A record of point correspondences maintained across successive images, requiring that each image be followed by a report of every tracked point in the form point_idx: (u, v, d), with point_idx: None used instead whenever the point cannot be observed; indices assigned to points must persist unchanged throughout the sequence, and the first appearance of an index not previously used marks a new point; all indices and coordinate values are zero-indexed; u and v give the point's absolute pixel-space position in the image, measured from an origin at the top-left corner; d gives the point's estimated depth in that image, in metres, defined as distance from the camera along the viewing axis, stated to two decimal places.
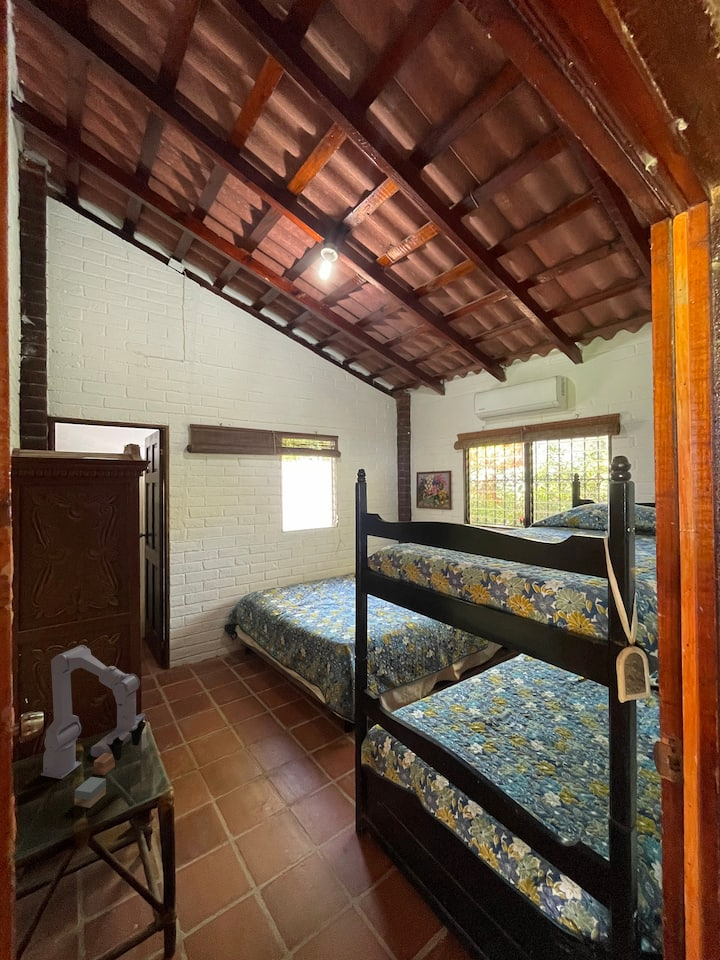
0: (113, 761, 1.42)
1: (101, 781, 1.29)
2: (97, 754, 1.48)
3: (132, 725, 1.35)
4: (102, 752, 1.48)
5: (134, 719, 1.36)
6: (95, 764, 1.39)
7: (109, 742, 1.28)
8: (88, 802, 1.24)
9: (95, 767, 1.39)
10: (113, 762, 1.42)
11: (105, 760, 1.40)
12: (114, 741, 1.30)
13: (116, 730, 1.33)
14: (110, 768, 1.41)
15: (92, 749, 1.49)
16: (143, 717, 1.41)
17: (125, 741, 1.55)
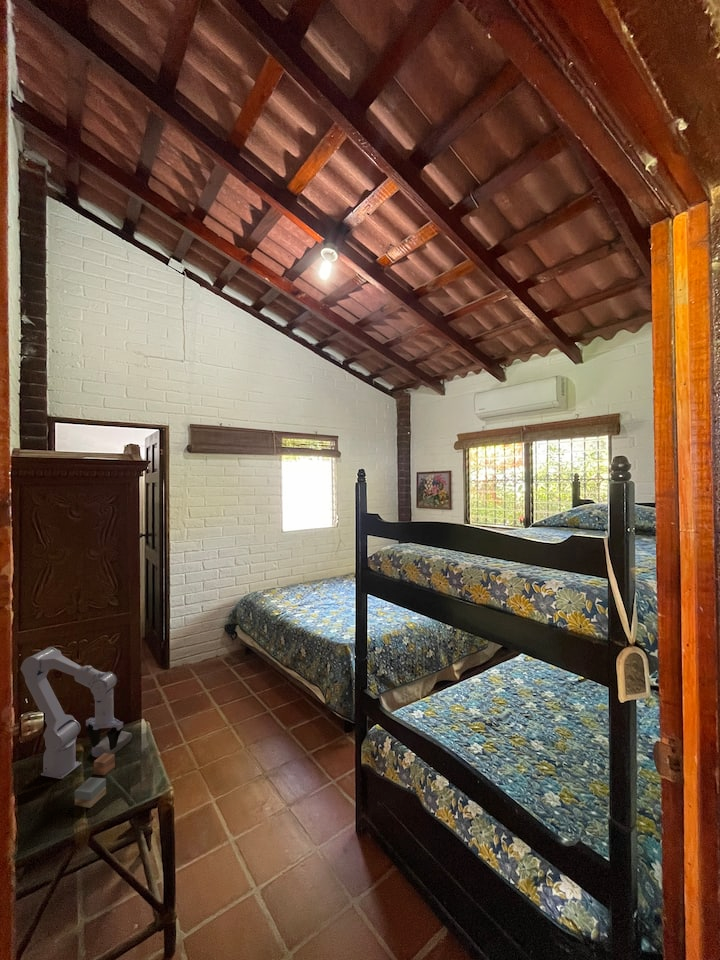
0: (113, 761, 1.42)
1: (101, 781, 1.29)
2: (98, 754, 1.48)
3: (96, 724, 1.39)
4: (103, 752, 1.47)
5: (99, 720, 1.38)
6: (95, 764, 1.39)
7: None
8: (89, 803, 1.24)
9: (95, 767, 1.39)
10: (113, 762, 1.42)
11: (105, 760, 1.40)
12: (89, 726, 1.42)
13: None
14: (110, 768, 1.41)
15: (93, 749, 1.49)
16: (116, 726, 1.39)
17: (126, 741, 1.55)
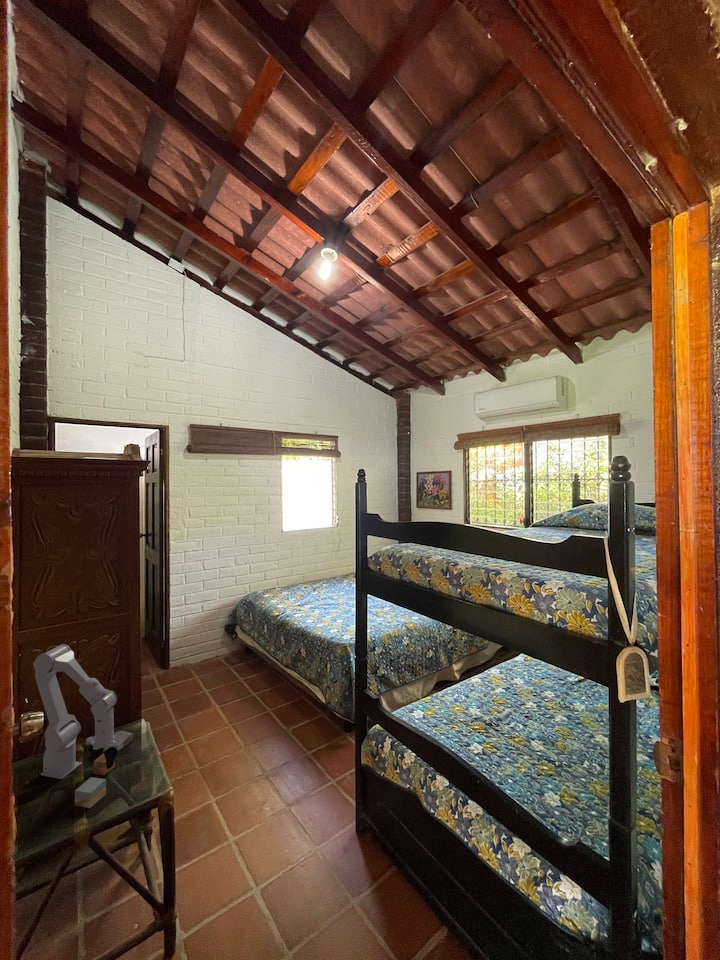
0: None
1: (101, 781, 1.29)
2: None
3: (97, 743, 1.38)
4: None
5: (99, 739, 1.38)
6: (95, 764, 1.39)
7: None
8: (89, 803, 1.24)
9: (95, 767, 1.39)
10: None
11: (105, 760, 1.40)
12: (92, 745, 1.41)
13: None
14: (110, 768, 1.41)
15: None
16: (116, 746, 1.39)
17: (127, 741, 1.55)
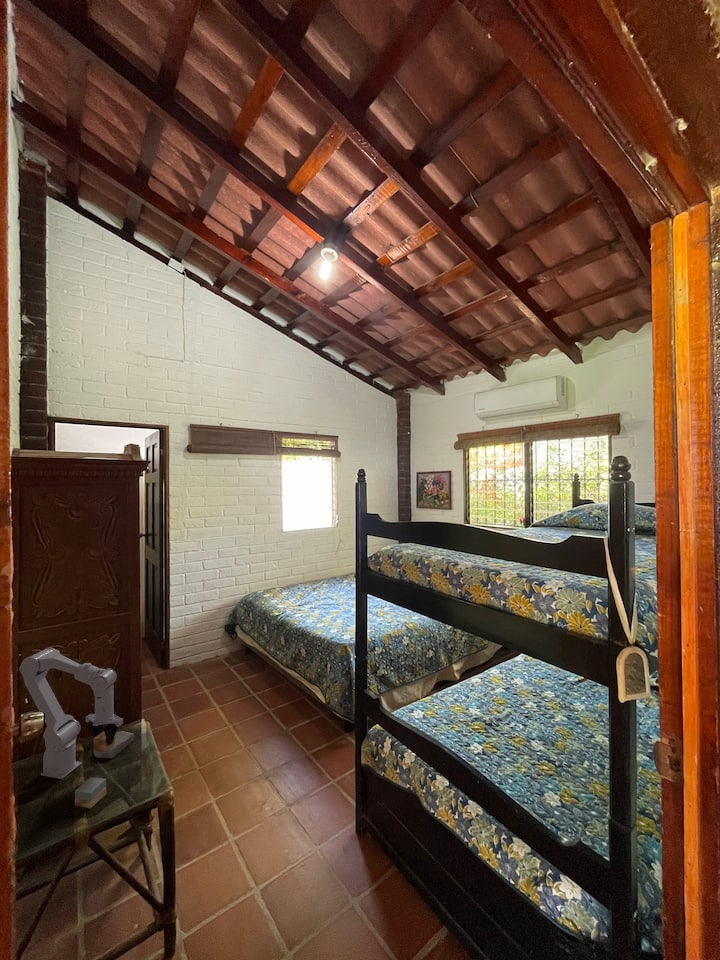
0: None
1: (101, 781, 1.29)
2: (101, 755, 1.48)
3: (96, 720, 1.39)
4: (106, 753, 1.47)
5: (99, 716, 1.38)
6: (95, 741, 1.39)
7: None
8: (89, 803, 1.24)
9: (95, 744, 1.39)
10: None
11: (105, 737, 1.40)
12: (92, 722, 1.41)
13: None
14: (110, 745, 1.41)
15: None
16: (116, 723, 1.39)
17: (128, 742, 1.55)
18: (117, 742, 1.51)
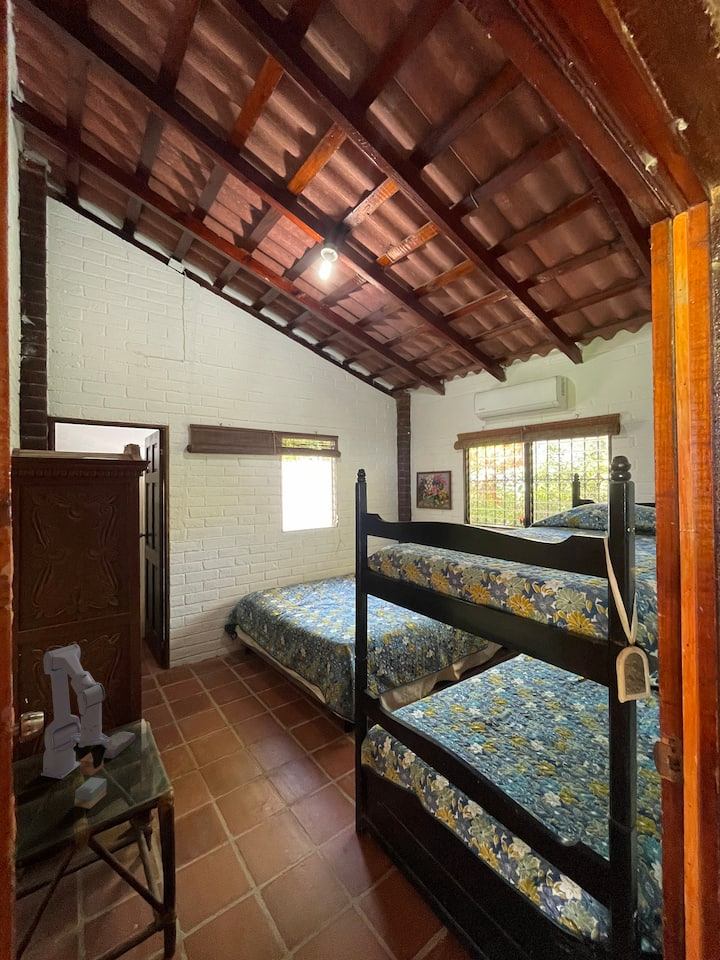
0: (102, 760, 1.30)
1: (102, 781, 1.29)
2: None
3: (82, 741, 1.26)
4: (107, 753, 1.47)
5: (85, 736, 1.26)
6: (81, 763, 1.27)
7: None
8: (89, 803, 1.24)
9: (81, 766, 1.27)
10: None
11: None
12: (78, 743, 1.29)
13: None
14: (98, 767, 1.29)
15: None
16: (104, 743, 1.26)
17: (130, 742, 1.55)
18: (118, 742, 1.51)
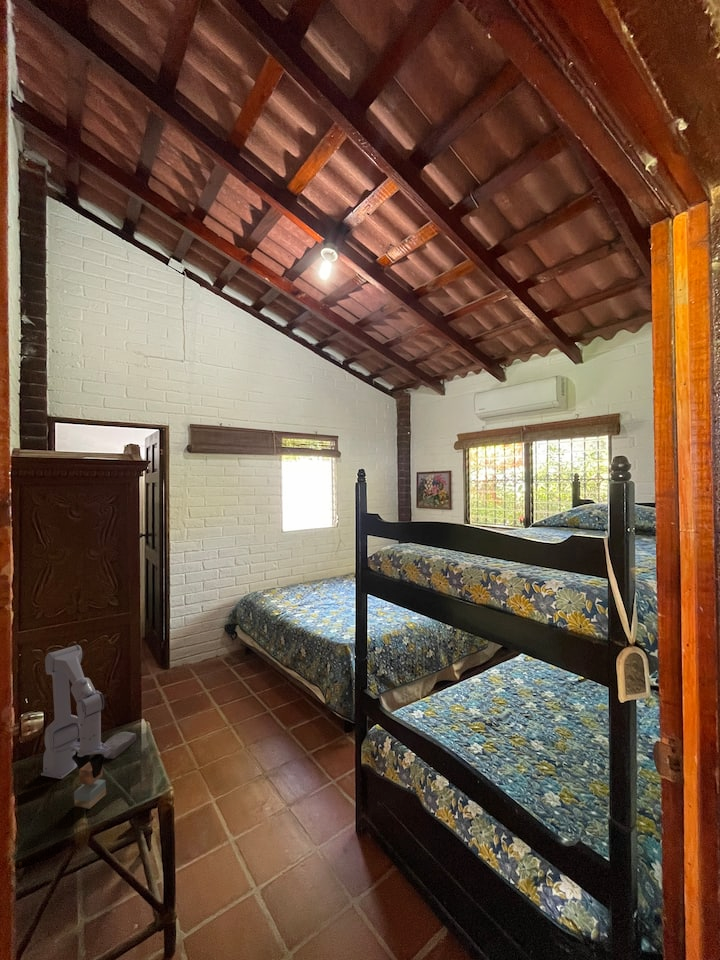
0: (101, 769, 1.29)
1: (101, 782, 1.29)
2: None
3: (82, 750, 1.25)
4: None
5: (84, 745, 1.25)
6: (81, 772, 1.26)
7: None
8: (88, 803, 1.24)
9: (81, 776, 1.26)
10: (101, 770, 1.29)
11: None
12: (77, 752, 1.28)
13: None
14: (97, 777, 1.28)
15: None
16: (103, 753, 1.26)
17: (131, 742, 1.54)
18: (119, 742, 1.51)
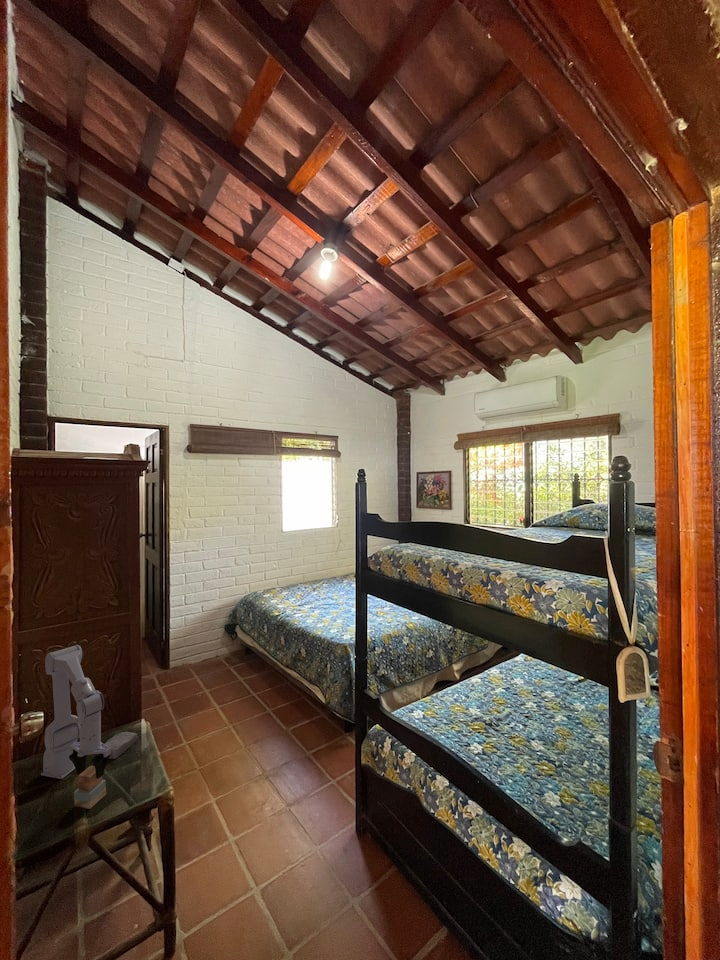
0: None
1: (100, 782, 1.29)
2: None
3: (82, 750, 1.25)
4: None
5: (84, 745, 1.25)
6: (80, 778, 1.26)
7: None
8: (89, 803, 1.24)
9: (80, 782, 1.26)
10: None
11: (91, 774, 1.26)
12: (74, 751, 1.28)
13: None
14: (97, 782, 1.27)
15: None
16: (103, 753, 1.26)
17: (132, 742, 1.54)
18: (120, 742, 1.50)
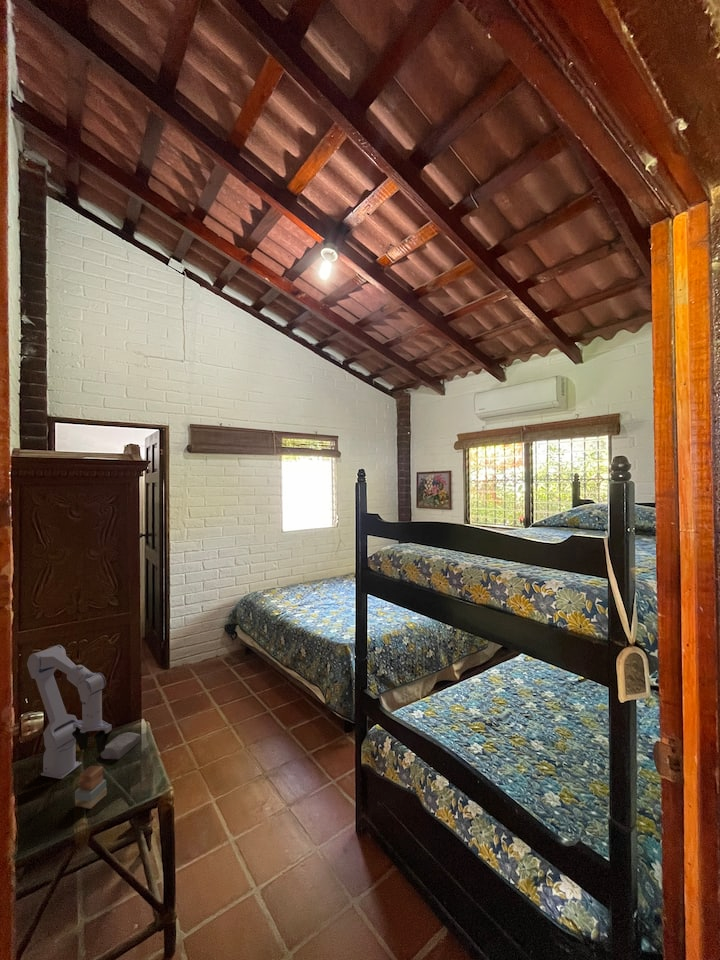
0: (101, 774, 1.29)
1: (101, 782, 1.29)
2: (107, 756, 1.47)
3: (84, 727, 1.34)
4: (113, 754, 1.47)
5: (86, 722, 1.34)
6: (81, 778, 1.26)
7: None
8: (89, 803, 1.24)
9: (81, 782, 1.26)
10: (101, 775, 1.29)
11: (92, 773, 1.27)
12: (76, 729, 1.37)
13: None
14: (98, 782, 1.28)
15: None
16: (104, 729, 1.34)
17: (135, 742, 1.54)
18: (124, 743, 1.50)
